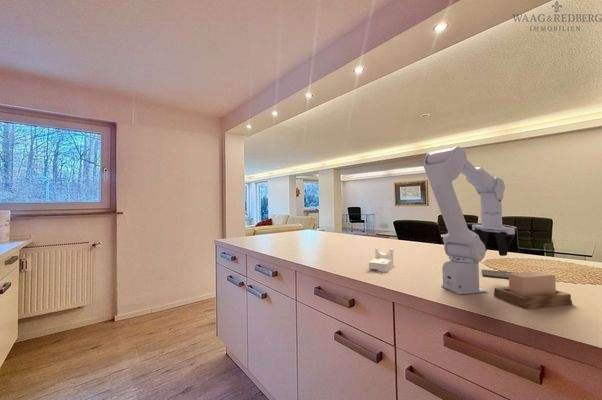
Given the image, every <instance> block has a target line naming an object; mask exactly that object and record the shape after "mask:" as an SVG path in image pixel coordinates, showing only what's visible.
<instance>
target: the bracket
mask: <svg viewBox="0 0 602 400" xmlns="http://www.w3.org/2000/svg"><path fill="white" fill-rule="evenodd" d="M374 250H375V251H374V255H375V257H374V258H373V259H371V260H370V261H368V269H369V270H370V269H371V270H376V271H378V272H383V273H388V272H389V271H390V269H392V267H393V266H394V248H392V247H390V248H389V250H388V253H384V252H382V251H381V250H380V247H375V249H374Z"/></svg>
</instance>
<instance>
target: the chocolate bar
mask: <svg viewBox="0 0 602 400" xmlns="http://www.w3.org/2000/svg"><path fill="white" fill-rule="evenodd" d="M509 273H515V272H513V271H504V270H503V271H502V270H494V269H493V270H490V269H484V268H483V269H481V274H482V277H484V278H485V277H487V278H494V279H505V280H509Z"/></svg>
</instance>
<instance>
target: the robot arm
mask: <svg viewBox="0 0 602 400" xmlns="http://www.w3.org/2000/svg"><path fill="white" fill-rule="evenodd" d="M467 158H468V157H467V152H466V150H464V149H463V147H462V146H461V147H460V146H454V147H452V148H445V149H441V150H436V151H429V152H428V153H426V154H425V156H424V160H423V163H422V165H423V169H424V171H425V173H426V176H427V179H428V181H429V183H430V187H431V190H432V193H433V196H434V198H435V200H436V203H437V206H438V208H439V211H440V214H441V217H442V219H443V222H444V225H445V227H446V230H447V233H446V234H445V235H444V236H443V238H442V242H443V247H444V248H443V249H444V253H445V255H446V256H447V257H448V261H444V262H443V263H442V284H441V287H442V288H444V289H447V290H449V291H451V292H453V293H456V294H458V295H465V294H466V295H467V294H478V293H487V292H488V290H487V289H484V288H482V287H480V267H479V266H480V264H479V263H481V262H482V261H483V260H484V258H485V256H486V252H487V250H488V240H489V235H490V233H494V237H495V241H496V242H497V250H498V255H499V256H501V257H504V256H506V257H507V255H508V251H509V248H510V245H511V243H512V242H513V240H514V239H515V237H516V235H515V234H516V229H515V227H509V226H504V225H503V214H502V213H503V209H502V208H503V207H502V205H503V204H502V200H503V199H504V192H505V189H506V185H505V182H504V180H503V178H500V177H494V176H493V175H491V174H490V173H489V172H488V171H487V170H485V169H484V168H483V166H479V167H475V165H473V164H472V163H471V161H469V160H468V159H467ZM460 174H462V175H464V176H465V177H466V178H465V179H466V181H467V182H468V183H469V184H470V185H472V186H473V187H474V189H475V190H476V193H477V195H479V197H480V218H481V220H480V221H481V222H480V223H481V224H472V225H471V230H470V228H468V225H467V222H466V219H465V217H464V213H463V210H462V209H461V208H462V207H461V205H460V203H459V199H458V197H457V194H456V190H455V189H454V186H453V181H455V180H456V179H458V178H459V175H460Z"/></svg>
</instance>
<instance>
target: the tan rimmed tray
mask: <svg viewBox="0 0 602 400" xmlns="http://www.w3.org/2000/svg"><path fill="white" fill-rule="evenodd" d="M493 290H494V291H493V297H495V298H497V299H499V300H501V301H505V302H507V303H510V304H512V305H514V306H518V307H519V308H522V309H525V310H526V309H527V310H528V309H538V308H549V307H550V308H551V307H561V306H568V305H573V300H572V298H571V297H572V296H571V295H572V294H571V293H567V292H564V291H560V290H556V293H552V294H540V295H529V296H520V295H517V294H514V293H511V292H509V286H501V287H500V286H498V287H494V289H493Z"/></svg>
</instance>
